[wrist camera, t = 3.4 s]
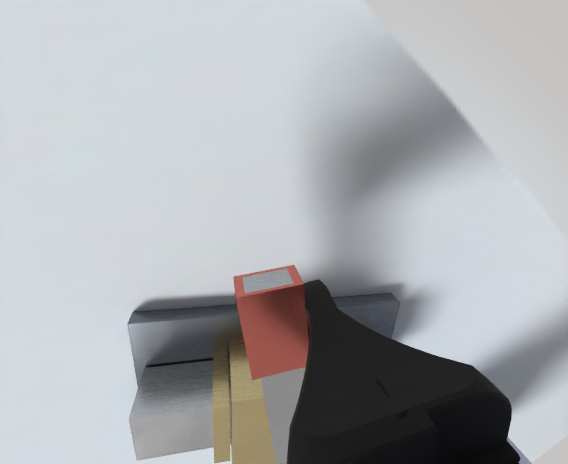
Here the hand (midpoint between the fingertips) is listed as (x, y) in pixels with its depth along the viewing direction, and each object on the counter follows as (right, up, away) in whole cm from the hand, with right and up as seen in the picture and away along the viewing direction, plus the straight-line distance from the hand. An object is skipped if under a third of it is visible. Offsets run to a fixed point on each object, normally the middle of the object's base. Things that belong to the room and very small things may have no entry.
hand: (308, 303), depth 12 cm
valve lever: (-1, -3, +1) cm, 4 cm away
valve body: (-2, -5, +7) cm, 9 cm away
